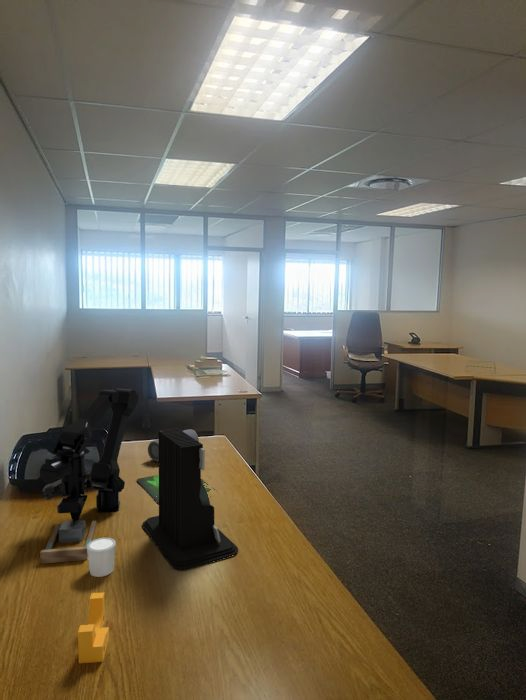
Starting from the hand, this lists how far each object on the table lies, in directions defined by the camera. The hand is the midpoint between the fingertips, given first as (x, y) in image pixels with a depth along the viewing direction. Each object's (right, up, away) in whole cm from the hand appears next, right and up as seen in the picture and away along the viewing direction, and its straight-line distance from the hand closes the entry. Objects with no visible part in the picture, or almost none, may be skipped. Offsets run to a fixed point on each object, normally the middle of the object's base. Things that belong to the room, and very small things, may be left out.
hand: (75, 523), depth 142 cm
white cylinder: (+15, -4, -21) cm, 26 cm away
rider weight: (+1, -2, -5) cm, 6 cm away
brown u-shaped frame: (+2, -3, -8) cm, 9 cm away
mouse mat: (+24, +1, +33) cm, 40 cm away
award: (+34, -3, -4) cm, 34 cm away
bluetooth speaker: (+17, +5, +66) cm, 68 cm away
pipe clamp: (+22, -7, -46) cm, 51 cm away
